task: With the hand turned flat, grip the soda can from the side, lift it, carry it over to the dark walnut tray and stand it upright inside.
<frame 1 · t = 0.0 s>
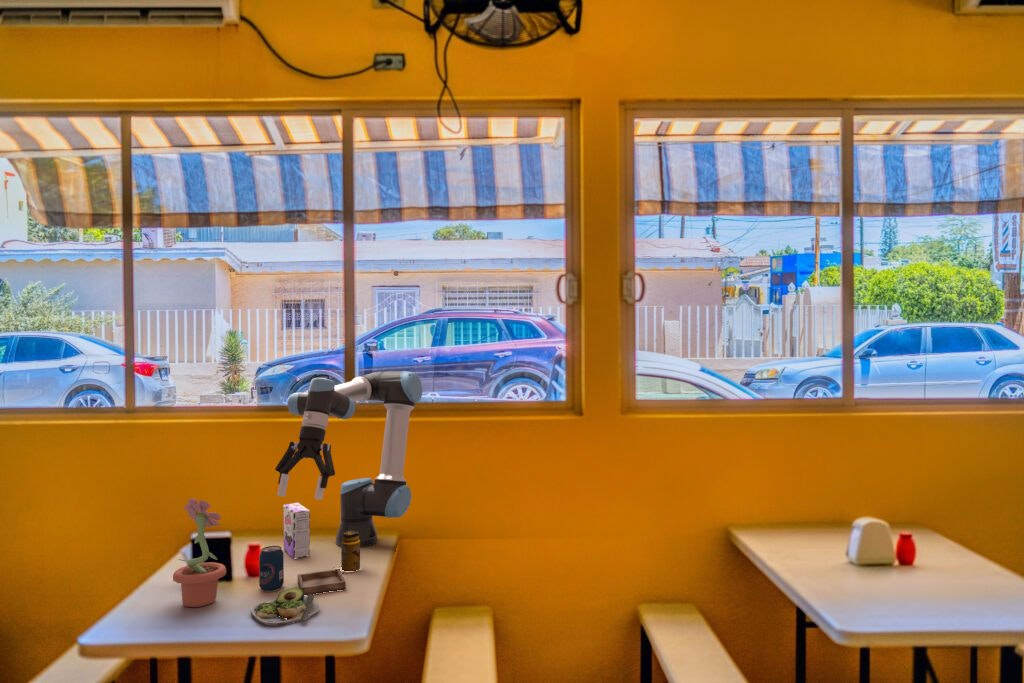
hand: (299, 497, 196), 28 cm above the table, tool tilted 20°, fingers open, 13 cm apart
condiment: (348, 570, 215), on the table
decorative flower: (201, 603, 187), on the table
walnut tray: (321, 586, 200), on the table
candy box: (296, 553, 233), on the table
avocado toast plate: (286, 614, 180), on the table
soda can: (271, 588, 199), on the table
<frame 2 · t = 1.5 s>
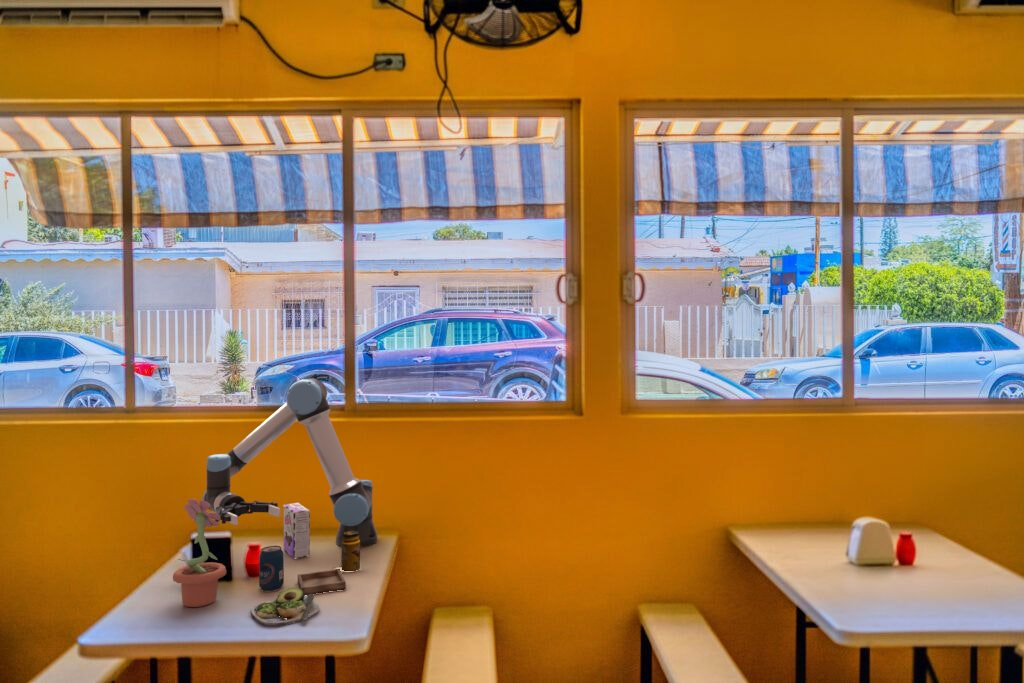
hand: (258, 516, 205), 20 cm above the table, tool horizontal, fingers open, 13 cm apart
nothing on the table moved.
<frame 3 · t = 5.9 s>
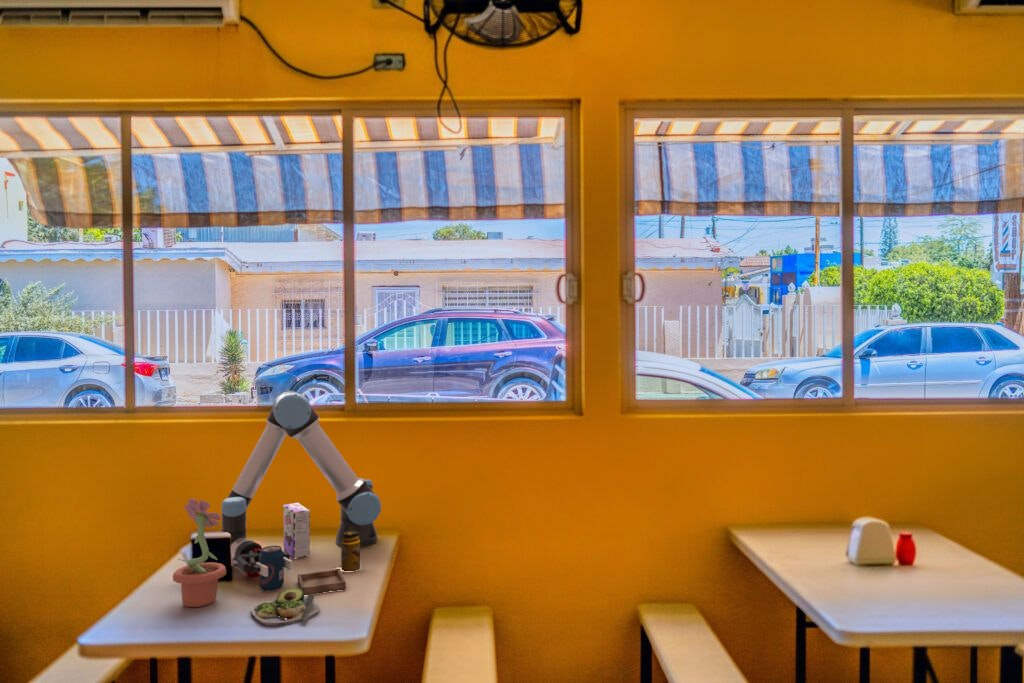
hand: (279, 568, 195), 7 cm above the table, tool horizontal, fingers closed on soda can, 7 cm apart
soda can: (271, 588, 198), on the table, touching gripper
everything else where it was.
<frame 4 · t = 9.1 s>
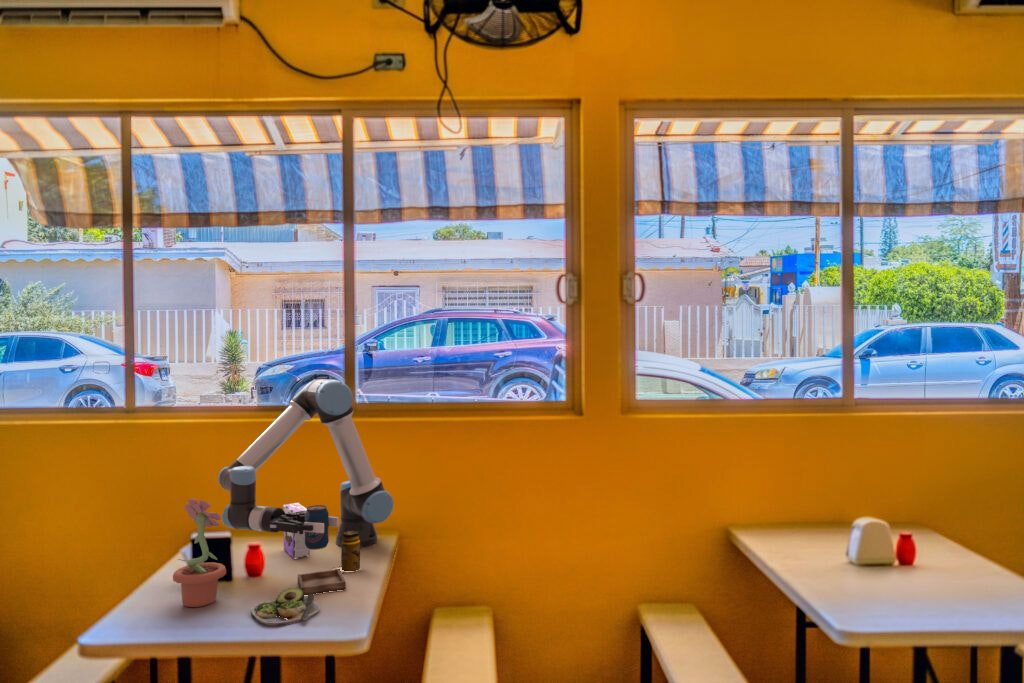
hand: (330, 525, 198), 19 cm above the table, tool horizontal, fingers closed on soda can, 7 cm apart
soda can: (316, 547, 200), point 12 cm above the table, touching gripper
everything else where it was.
when the fingers open (8 cm above the table, at t = 12.6 s): soda can moves 2 cm, resting on walnut tray.
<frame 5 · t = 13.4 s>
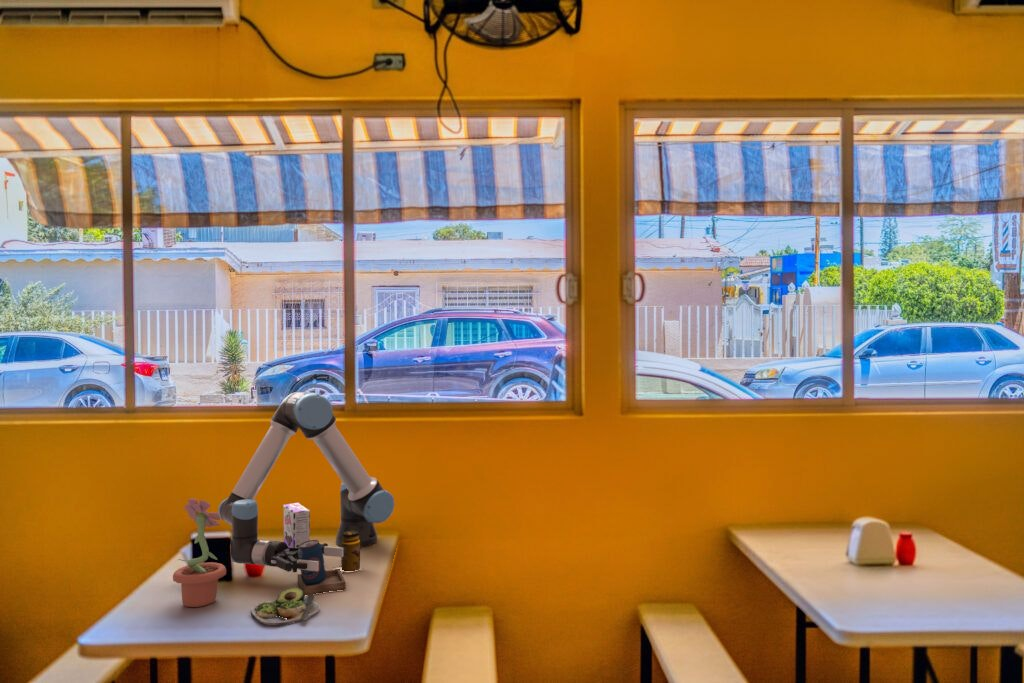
hand: (330, 559, 199), 8 cm above the table, tool horizontal, fingers open, 13 cm apart
soda can: (315, 582, 198), point 2 cm above the table, touching gripper, walnut tray
everything else where it was.
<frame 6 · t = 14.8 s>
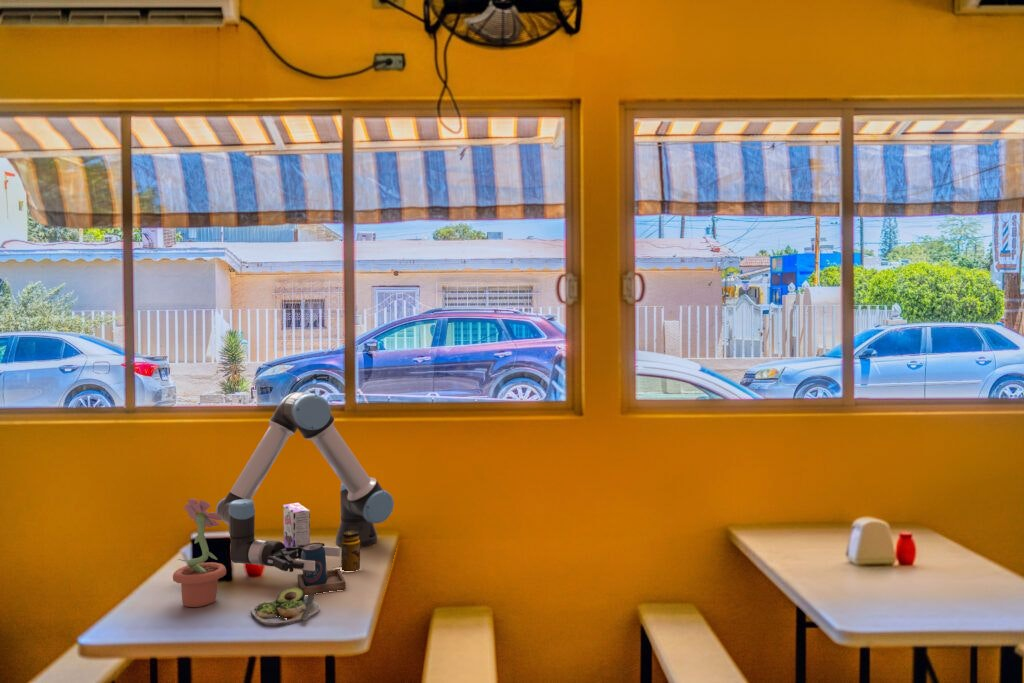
hand: (327, 558, 199), 9 cm above the table, tool horizontal, fingers open, 13 cm apart
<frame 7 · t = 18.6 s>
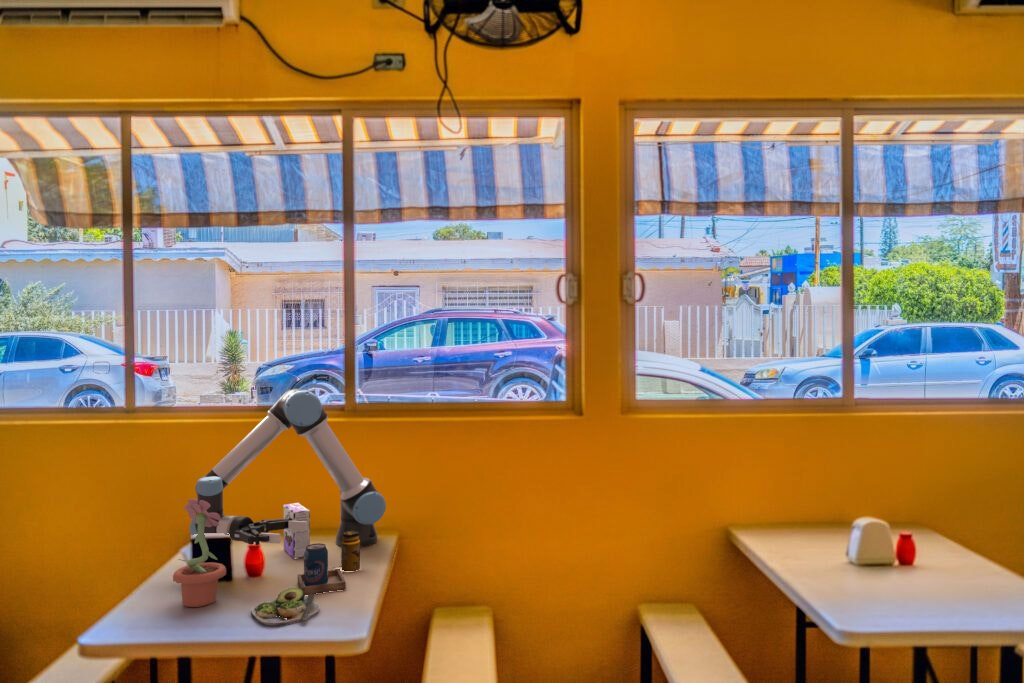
hand: (293, 532, 202), 16 cm above the table, tool horizontal, fingers open, 13 cm apart
soda can: (316, 586, 198), point 1 cm above the table, touching walnut tray
everything else where it was.
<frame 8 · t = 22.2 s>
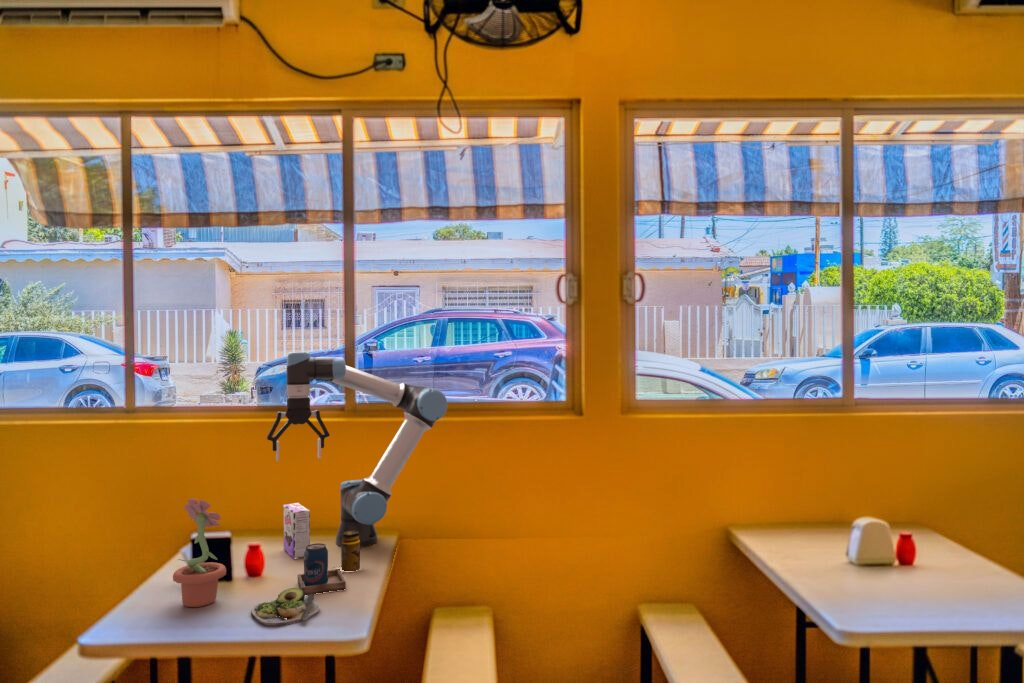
hand: (298, 459, 224), 35 cm above the table, tool pointing down, fingers open, 13 cm apart
nothing on the table moved.
at the end: soda can 2.3 cm off-centre on the walnut tray, point 0.6 cm above the walnut tray's base; soda can tilted 0°; the gripper is holding nothing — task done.
